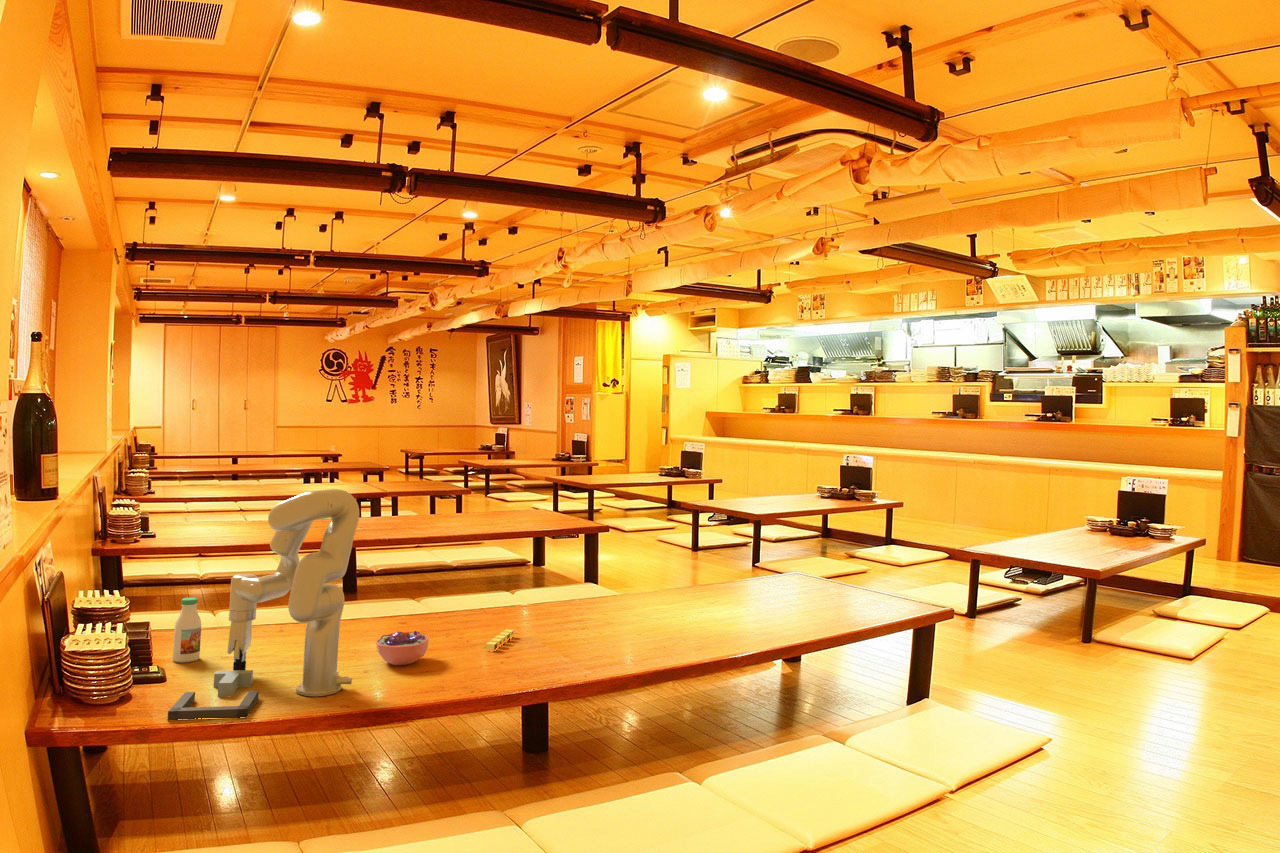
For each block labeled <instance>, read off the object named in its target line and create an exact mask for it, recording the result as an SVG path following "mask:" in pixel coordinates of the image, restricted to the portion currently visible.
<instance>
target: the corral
mask: <svg viewBox="0 0 1280 853" xmlns="http://www.w3.org/2000/svg"><path fill="white" fill-rule="evenodd" d="M259 692H260V691H259V689H257V690H255V689H254V690H251V689H250V690H248V692H247V693H246V695H245V696H244V698H243V699H242V700H241V702H240V704H239V705H234V706H233V705H232V706H230V705H229V706H199V707H198V706H195V707H193V706H192V705H193V703H194V702H195V700H196V699H195V698H196V692H195V691H186V692H184V693H183V694H182V695H181V697H179V699H178V700H176V702H174V704H173V705H172V707H170V708H169V709H168V711H167V720H178V719H195V718H196V719H198V718H201V719H202V718H238V719H241V718H240V717H247V716H249V715H250V714H251V712H252V710H253V709H254V707H255V705H256V704H257V701H258V700H259V694H260V693H259ZM255 703H256V704H255ZM191 704H192V705H191ZM191 706H192V707H191ZM253 706H254V707H253ZM250 711H251V712H250ZM248 714H249V715H248ZM247 718H248V717H247Z"/></svg>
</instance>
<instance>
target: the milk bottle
mask: <svg viewBox="0 0 1280 853" xmlns="http://www.w3.org/2000/svg"><path fill="white" fill-rule="evenodd" d="M198 599H199V598H197V597H184V598H182V599H181V610H180V612H179V614H178V616H177V618H176V621H175V624H174V633H173V646H172V661H173V662H175V663H192V662H195V661H198V660H199V658H200V656H201V655H200V654H201V641H202V640H201V638H202V637H201V636H202V620H201V617H200V615H199V613H198V607H197V606H198Z"/></svg>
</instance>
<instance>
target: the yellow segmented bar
mask: <svg viewBox="0 0 1280 853" xmlns="http://www.w3.org/2000/svg"><path fill="white" fill-rule="evenodd" d="M513 633H514V634H515V630H514V629H507V628H505V629H504V630H503V631H501V632H500V633H499V634H497V635H495V637H494V638H491V639H490V641H487V642H486V643H485V650H486V649H487V650H495V649H496V648H497V646H499V645H500V644H502V642H504V641H505V640H506V639H508V638H509V637H510V635H512V634H513Z"/></svg>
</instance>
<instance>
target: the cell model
mask: <svg viewBox="0 0 1280 853" xmlns="http://www.w3.org/2000/svg"><path fill="white" fill-rule="evenodd" d="M429 639H430V638H429V636H428V635H427V634H426V633H421V632H419V631H416V630H415V631H413V632H412V631H411V632H410V631H409V632H403V631H398V630H397V631H395V632H391V633H386V634H382V635H380V636H379V638H378V639H377V640H376V641H375V644H376V650H377V651H376V652H377V653H378V655H379V656H380V657H381V658H382V659H383V661H385V662H387V663H388V664H390V665H392V666H406V665H410V664H413V663H415V662H417V661H418V660H420V659H421V658H423V657H424V656H425V654H426V653H427V651H428V647H429V642H430V641H429Z"/></svg>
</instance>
